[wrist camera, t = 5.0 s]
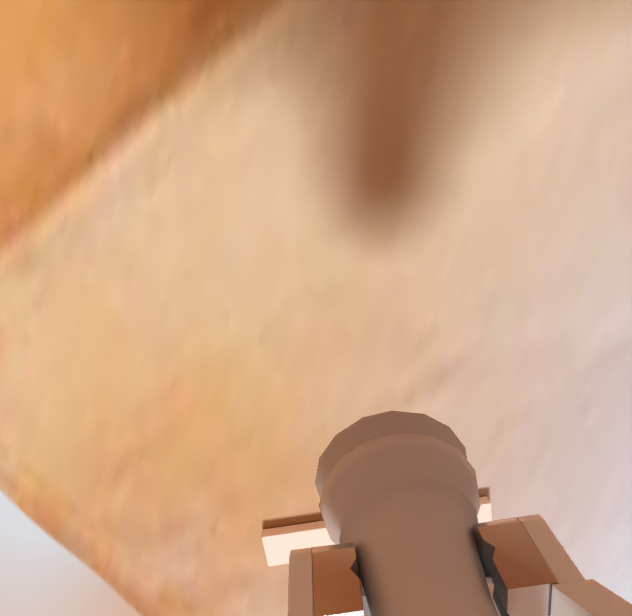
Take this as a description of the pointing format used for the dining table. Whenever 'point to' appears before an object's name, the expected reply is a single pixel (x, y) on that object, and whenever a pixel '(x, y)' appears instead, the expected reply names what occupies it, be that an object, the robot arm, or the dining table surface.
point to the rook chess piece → (406, 515)
